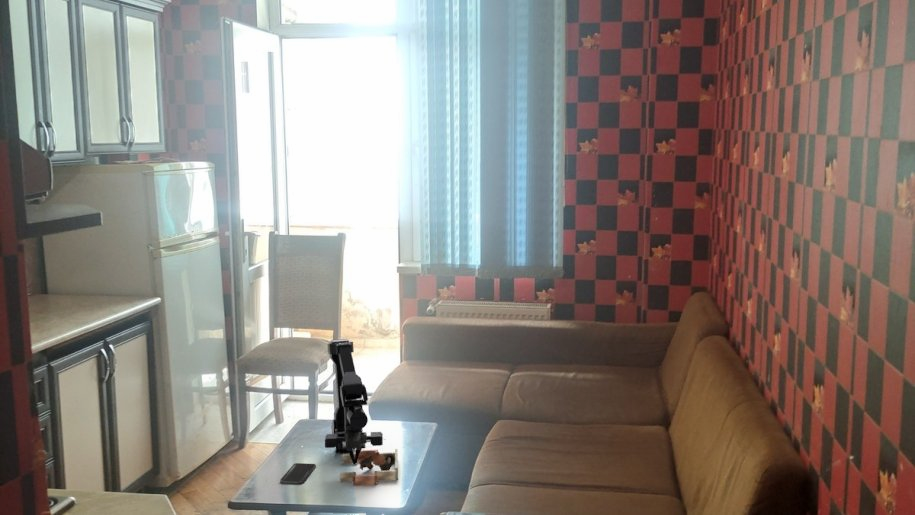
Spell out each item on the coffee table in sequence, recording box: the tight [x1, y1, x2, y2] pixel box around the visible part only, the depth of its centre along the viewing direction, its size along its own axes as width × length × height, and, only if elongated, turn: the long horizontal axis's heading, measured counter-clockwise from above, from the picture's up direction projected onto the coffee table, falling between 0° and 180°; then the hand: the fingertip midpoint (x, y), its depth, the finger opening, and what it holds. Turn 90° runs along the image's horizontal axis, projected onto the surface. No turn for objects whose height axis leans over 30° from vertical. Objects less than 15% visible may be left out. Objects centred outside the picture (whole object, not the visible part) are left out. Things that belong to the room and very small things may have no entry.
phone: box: [279, 462, 317, 485], centre depth 270 cm, size 8×1×15 cm
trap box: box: [339, 448, 399, 487], centre depth 272 cm, size 18×22×4 cm
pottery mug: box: [358, 451, 395, 471], centre depth 270 cm, size 12×10×8 cm
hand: (354, 464), depth 272 cm, fingers closed
